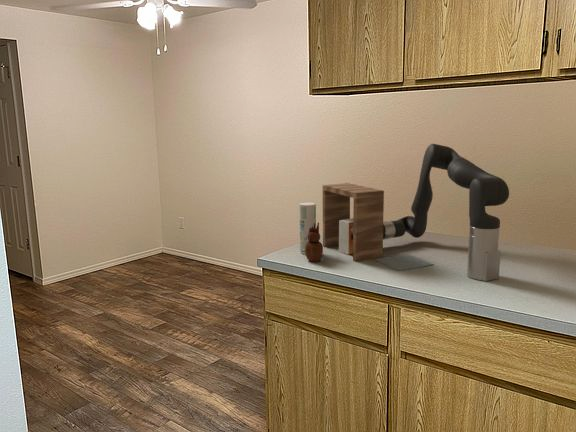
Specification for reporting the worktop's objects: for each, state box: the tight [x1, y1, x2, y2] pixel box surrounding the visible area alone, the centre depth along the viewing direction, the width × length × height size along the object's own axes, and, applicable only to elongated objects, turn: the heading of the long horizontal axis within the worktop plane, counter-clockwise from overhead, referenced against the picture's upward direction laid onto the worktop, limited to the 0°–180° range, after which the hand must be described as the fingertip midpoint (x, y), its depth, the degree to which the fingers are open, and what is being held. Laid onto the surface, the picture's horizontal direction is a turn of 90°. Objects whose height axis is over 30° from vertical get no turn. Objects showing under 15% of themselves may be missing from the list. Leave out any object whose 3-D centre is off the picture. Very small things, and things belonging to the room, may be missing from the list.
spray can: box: [299, 201, 317, 256], centre depth 196 cm, size 6×6×20 cm
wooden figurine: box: [304, 221, 324, 263], centre depth 186 cm, size 7×6×15 cm
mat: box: [374, 253, 434, 272], centre depth 182 cm, size 15×15×1 cm
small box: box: [338, 217, 353, 255], centre depth 197 cm, size 8×6×13 cm
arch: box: [322, 182, 385, 263], centre depth 196 cm, size 26×12×26 cm, turn 24°
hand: (346, 235), depth 196 cm, fingers closed on small box, 7 cm apart
